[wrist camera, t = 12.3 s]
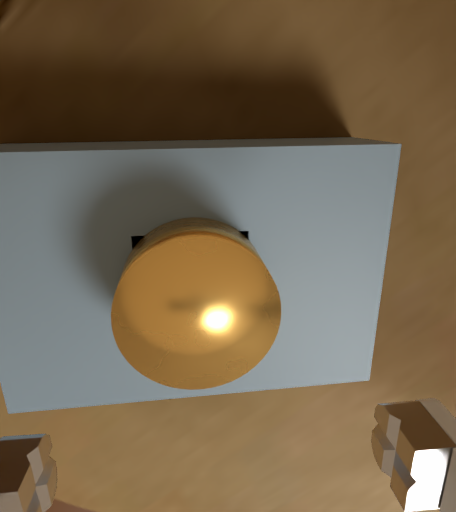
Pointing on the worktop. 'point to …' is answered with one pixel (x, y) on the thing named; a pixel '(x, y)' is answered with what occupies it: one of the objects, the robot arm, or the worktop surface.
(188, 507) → the worktop surface
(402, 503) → the robot arm
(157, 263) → the orange domed piece
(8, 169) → the blue-grey slotted block
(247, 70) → the worktop surface
